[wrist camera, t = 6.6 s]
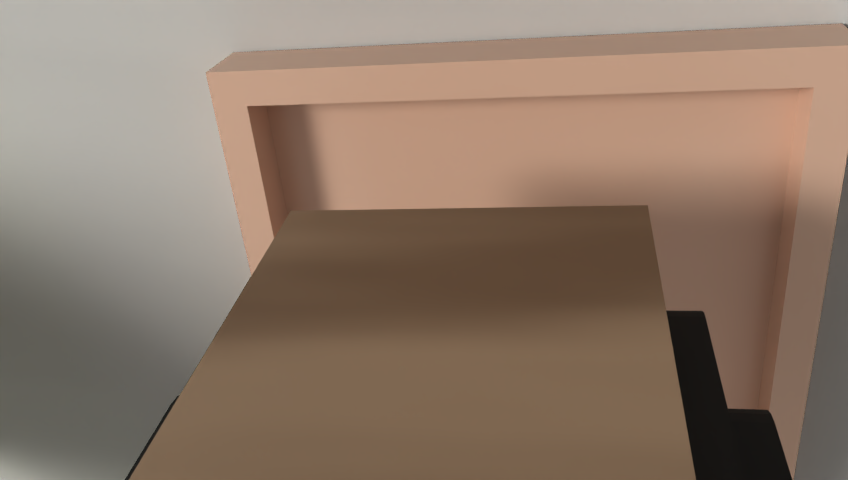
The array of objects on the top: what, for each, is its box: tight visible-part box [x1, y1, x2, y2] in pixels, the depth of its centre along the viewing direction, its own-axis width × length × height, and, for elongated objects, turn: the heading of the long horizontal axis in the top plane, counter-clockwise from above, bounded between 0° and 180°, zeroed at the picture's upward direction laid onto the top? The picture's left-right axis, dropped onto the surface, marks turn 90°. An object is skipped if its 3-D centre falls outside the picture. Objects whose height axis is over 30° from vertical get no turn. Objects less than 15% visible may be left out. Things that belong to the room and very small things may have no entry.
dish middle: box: [206, 24, 848, 480], centre depth 15 cm, size 10×10×1 cm
